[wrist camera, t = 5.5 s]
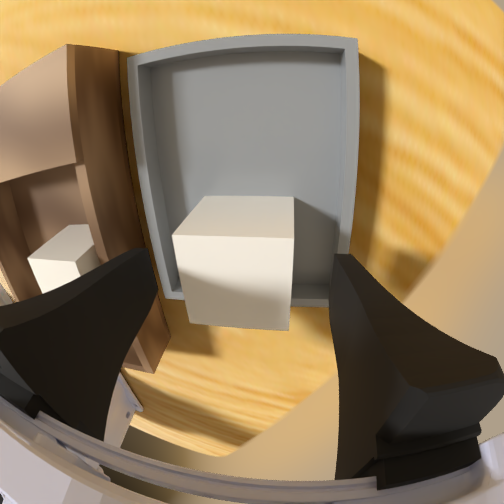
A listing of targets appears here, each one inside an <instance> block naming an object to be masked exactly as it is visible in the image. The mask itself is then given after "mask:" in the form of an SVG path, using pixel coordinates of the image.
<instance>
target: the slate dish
mask: <svg viewBox="0 0 504 504" xmlns="http://www.w3.org/2000/svg"><path fill="white" fill-rule="evenodd" d="M127 71H128V88H129V101H130V112H131V122H132V131H133V140H134V147H135V155H136V162H137V168H138V175H139V181H140V187H141V193H142V198H143V204H144V209H145V214H146V219H147V224H148V229H149V234H150V238H151V243H152V247H153V252H154V256H155V260H156V264H157V268H158V272H159V276H160V280H161V284H162V288H163V292H164V295H165V298H167V299H178V300H184V295H183V291H182V286H181V281H180V276H179V271H178V266H177V261H176V256H175V250H174V245H173V239H172V234H173V233H174V232H175V231H176V229H177V228H178V227H179V226H180V224H181V223H182V222H183V221H184V220H185V218H186V217H187V216H188V215H189V214H190V212H191V211H192V210H193V209H194V208H195V207H196V205H197V204H198V203H199V202H200V201H201V200H202V198H203V197H204V196H281V197H294V252H293V272H292V289H291V305H290V306H294V307H329V299H328V298H329V291H330V284H331V277H332V269H333V261H334V254H348V253H349V246H350V239H351V231H352V222H353V213H354V204H355V193H356V181H357V167H358V148H359V116H360V87H359V56H358V40H357V38H348V37H339V36H327V35H311V34H263V35H246V36H234V37H225V38H216V39H209V40H202V41H196V42H190V43H185V44H180V45H175V46H170V47H165V48H161V49H157V50H153V51H149V52H145V53H141V54H138V55H134V56H131V57H128V58H127Z"/></svg>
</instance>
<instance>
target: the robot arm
mask: <svg viewBox="0 0 504 504" xmlns="http://www.w3.org/2000/svg"><path fill="white" fill-rule="evenodd" d="M157 292H158V286H157V283H156V279H155V275H154V271H153V268H152V264H151V260H150V256H149V251H148V248H134V249H131V250H129V251H127V252H124V253H122V254H120V255H118V256H117V257H115V258H113V259H111V260H109V261H107V262H106V263H104V264H102V265H100V266H98V267H97V268H95V269H93V270H91V271H89V272H87V273H86V274H84V275H82V276H80V277H78V278H76V279H74V280H73V281H71V282H69V283H66V284H64V285H62V286H60V287H58V288H55V289H53V290H51V291H48V292H46V293H43V294H40V295H38V296H35V297H32V298H29V299H26V300H23V301H19V302H16V303H12V304H8V305H3V306H0V493H1V495H2V496H3V498H4V500H3V503H2V504H168V503H165V502H161V501H158V500H155V499H152V498H149V497H147V496H144V495H141V494H138V493H136V492H133V491H130V490H128V489H125V488H122V487H120V486H118V485H116V484H113V483H111V482H110V478H109V477H108V476H106V475H105V474H104V473H103V470H102V468H101V467H99V464H102V465H104V466H106V467H109V468H111V469H113V470H116V471H119V472H121V473H123V474H126V475H129V476H131V477H134V478H137V479H140V480H143V481H146V482H149V483H152V484H155V485H158V486H162V487H165V488H169V489H173V490H176V491H180V492H185V493H189V494H193V495H198V496H202V497H207V498H213V499H218V500H225V501H231V502H239V503H248V504H504V432H503V433H501V434H499V435H496V436H494V437H492V438H489V439H488V440H485V441H484V442H482V443H480V444H479V445H478V440H477V436H478V435H480V433H481V427H480V424H479V422H480V421H481V420H482V419H483V418H484V417H485V416H486V415H487V414H488V413H489V412H490V411H491V410H492V409H493V408H494V407H495V406H496V405H497V403H498V402H499V401H500V400H501V399H502V397H503V395H504V373H503V371H502V369H501V367H500V365H499V362H498V361H497V358H496V357H494V356H491V355H489V354H486V353H484V352H481V351H479V350H476V349H474V348H472V347H470V346H468V345H465V344H464V343H462V342H460V341H458V340H456V339H454V338H452V337H450V336H448V335H447V334H445V333H443V332H441V331H440V330H438V329H437V328H435V327H433V326H432V325H430V324H429V323H427V322H426V321H424V320H423V319H422V318H420V317H419V316H417V315H416V314H415V313H413V312H412V311H411V310H409V309H408V308H407V307H406V306H404V305H403V304H402V303H401V302H399V301H398V300H397V299H396V298H395V297H394V296H393V295H392V294H390V293H389V292H388V291H387V290H386V289H385V288H384V287H383V286H382V285H381V284H380V283H379V282H378V281H377V280H376V279H375V278H374V277H373V276H372V275H371V274H370V273H369V272H368V271H367V270H366V269H365V268H364V267H363V266H362V265H361V264H360V263H359V262H358V261H357V260H356V259H355V258H354V257H353V256H352V255H351V254H334V261H333V269H332V277H331V284H330V291H329V298H328V299H329V317H330V326H331V332H332V338H333V343H334V349H335V355H336V362H337V368H338V377H339V435H338V451H337V462H336V472H335V480H329V481H279V480H278V481H277V480H262V479H252V478H242V477H234V476H227V475H221V474H215V473H209V472H204V471H198V470H194V469H189V468H185V467H180V466H176V465H172V464H168V463H165V462H161V461H157V460H154V459H150V458H147V457H144V456H141V455H138V454H135V453H132V452H129V451H126V450H123V449H121V448H120V446H121V444H122V441H123V439H124V437H125V434H126V432H127V429H128V427H129V425H130V422H131V420H132V417H133V415H134V413H135V410H136V411H139V412H143V410H144V409H143V407H142V405H141V404H140V403H139V401H138V400H137V398H136V397H135V395H134V393H133V392H132V390H131V389H130V387H129V386H128V384H127V382H126V381H125V379H124V378H123V376H122V374H121V373H120V370H121V367H122V365H123V362H124V359H125V357H126V355H127V353H128V351H129V349H130V347H131V345H132V343H133V341H134V339H135V337H136V336H137V334H138V332H139V330H140V328H141V327H142V325H143V323H144V321H145V319H146V317H147V316H148V314H149V312H150V310H151V308H152V305H153V303H154V300H155V297H156V295H157Z"/></svg>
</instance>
